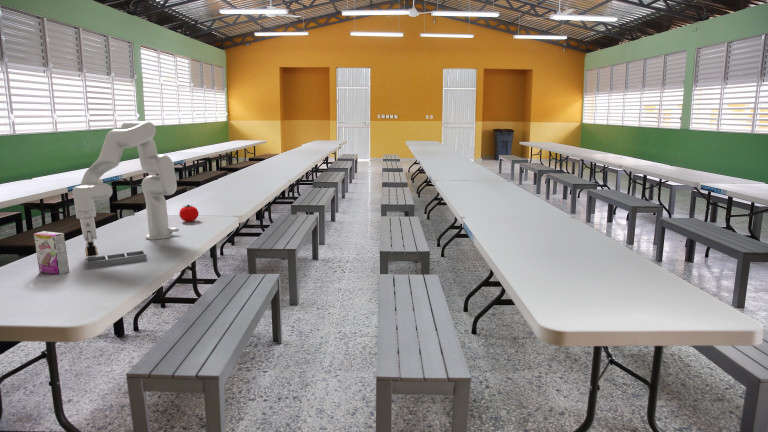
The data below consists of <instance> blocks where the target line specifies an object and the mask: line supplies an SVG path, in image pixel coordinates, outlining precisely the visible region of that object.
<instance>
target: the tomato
mask: <svg viewBox="0 0 768 432" xmlns="http://www.w3.org/2000/svg"><path fill="white" fill-rule="evenodd" d="M182 206H183V207H181V208H180V210H179V214H178V215H179V217H180V219H181V220H182V221H184V222H186V223H189V222H190V223H191V221H192V222H194V221H196V219H198V217H199V210H198V209H197V207H195V206H194V205H193V204H191V205H190V204H186V205H182Z"/></svg>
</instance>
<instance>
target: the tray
mask: <svg viewBox="0 0 768 432" xmlns="http://www.w3.org/2000/svg"><path fill="white" fill-rule="evenodd" d="M147 260H148V259H147V253H146V251H145V250H144V249H143V250H135V251H127V252H120V253H113V254H107V255H99V256H98V255H97V256H91V257H86V258H85V264H86V269H87V270H88V269H94V268H103V267H108V266H115V265H123V264H128V263H135V262H143V261H147Z"/></svg>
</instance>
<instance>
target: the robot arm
mask: <svg viewBox="0 0 768 432" xmlns="http://www.w3.org/2000/svg"><path fill="white" fill-rule="evenodd" d="M120 126H121V127H120V129H118V128H117V129H111V130H109V131H108V132H107V133H106V136H105V139H104V142H103V145H102V147H101V150H100V153H99V156H98V158H97V159H96V160H95V161H94V162H93V163H92V164H91V166H90V167H89V168H88V169H86V171H85V173H84V174H83V177H82V179H81V181H80V185H76V186H74V187H73V188H72V197H73V201H74V208H75V216H76V219H78V220H79V221H80V226H81V231H82V232H81V233H82V236H83V239H84V241H86V245H85V247H86V246H87V252H88V256H91V257H94V256H93V255H96V249H95V246H94V245H95V240H97V239H98V235H97V229H96V223H95V219H94V218H96V217H97V213H96V212H97V211H96V206H95V201H104V200H108V199H110V198H111V197H112V195H113V188H112V186H111V185H110V184H108V183H105V182H99V180H100V179H101V177H102V176H103V175H104V174H105V173H107V172H110V171H112V170H113V169H116V168H117V167H118V166H119V164H120V162H121V158H122V156H123V152H124V150H125V149H134V148H137V152H138V158H139V162H140V168H141V170H142V172H144V173H147V174H153V175H147V176H145V177H144V178H143V179H142V181H141V190H142V193H143V195H144V196H143V197H144V200H145V208H146V218H147V228H148V233H147V234H146V235H145V238H146V239H147V240H163V239H164V240H165V239H169V238H172V237H173V236H174V235H173V233H174V232H176V233H177V232H180V229H179V227H170V226H169V217H168V208H167V207H168V206H167V201H166V198H165V196H171V195H173V194H175V192H176V191H177V188H178V184H177V178H176V172H175V166H174V162H173V161H172V159H171V157H169V155H167V154H159V153H158V149H157V145H156V142H155V140H154V137H155V135H156V133H157V132H156V131H157V129H156V126H155V124H153V122H150V121H146V120H143V121H142V120H141V121H140V120H138V121H137V120H130V121H125V122H123V123H122V124H121V125H120ZM154 174H156V175H154ZM157 174H158V175H157ZM96 256H97V255H96Z"/></svg>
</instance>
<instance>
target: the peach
mask: <svg viewBox="0 0 768 432" xmlns="http://www.w3.org/2000/svg"><path fill="white" fill-rule="evenodd" d="M94 246H95V249H96V255H93V256H88V252H87V246H86V245H85V247H84V252H85V257H86V258H90V257H97V256H98V255H99V252H98V247H97V245H95V244H94Z"/></svg>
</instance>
